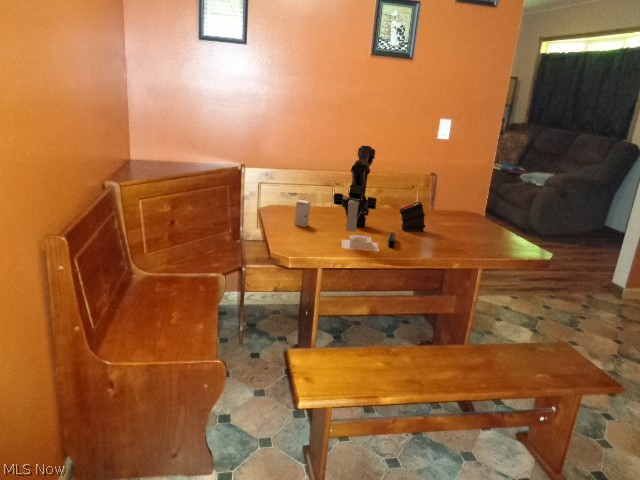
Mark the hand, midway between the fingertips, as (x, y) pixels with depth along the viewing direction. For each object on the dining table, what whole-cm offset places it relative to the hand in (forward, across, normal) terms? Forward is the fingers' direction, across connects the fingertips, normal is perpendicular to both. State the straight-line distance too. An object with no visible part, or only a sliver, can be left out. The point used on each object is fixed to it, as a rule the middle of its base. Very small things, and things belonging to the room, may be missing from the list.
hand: (351, 217), depth 199 cm
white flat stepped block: (+8, +5, +11) cm, 14 cm away
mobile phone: (+2, +18, +18) cm, 25 cm away
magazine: (-18, +27, +37) cm, 49 cm away
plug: (+3, 0, +5) cm, 6 cm away
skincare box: (-7, -27, +26) cm, 38 cm away
